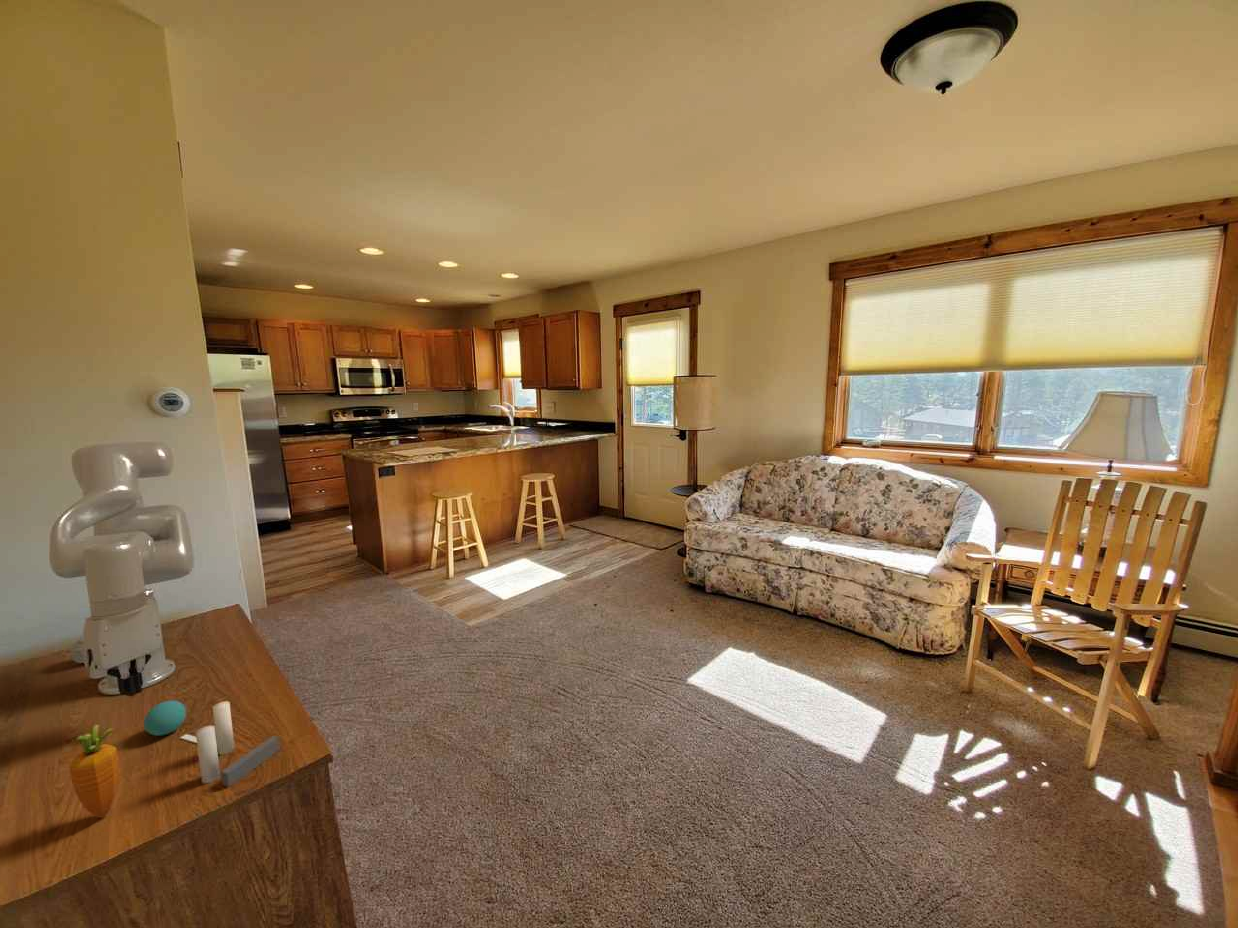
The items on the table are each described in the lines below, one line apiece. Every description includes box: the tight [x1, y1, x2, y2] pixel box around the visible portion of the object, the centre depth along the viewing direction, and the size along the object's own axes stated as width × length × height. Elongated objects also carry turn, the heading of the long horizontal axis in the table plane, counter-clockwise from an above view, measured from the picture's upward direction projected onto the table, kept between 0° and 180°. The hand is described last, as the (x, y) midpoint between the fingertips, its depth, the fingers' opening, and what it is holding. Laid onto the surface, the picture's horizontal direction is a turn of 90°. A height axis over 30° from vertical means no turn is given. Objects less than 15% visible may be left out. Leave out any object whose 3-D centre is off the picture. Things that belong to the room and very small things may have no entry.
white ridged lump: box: [68, 636, 84, 664], centre depth 117 cm, size 6×7×7 cm
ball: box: [143, 700, 187, 736], centre depth 93 cm, size 6×6×6 cm
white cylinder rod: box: [195, 725, 221, 784], centre depth 82 cm, size 2×2×9 cm
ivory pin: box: [212, 700, 235, 756], centre depth 89 cm, size 2×2×9 cm
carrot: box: [69, 724, 120, 819], centre depth 74 cm, size 5×5×15 cm
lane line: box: [179, 733, 217, 745], centre depth 91 cm, size 9×1×1 cm, turn 73°
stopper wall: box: [220, 735, 281, 788], centre depth 85 cm, size 2×9×2 cm, turn 163°
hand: (132, 693), depth 95 cm, fingers closed
